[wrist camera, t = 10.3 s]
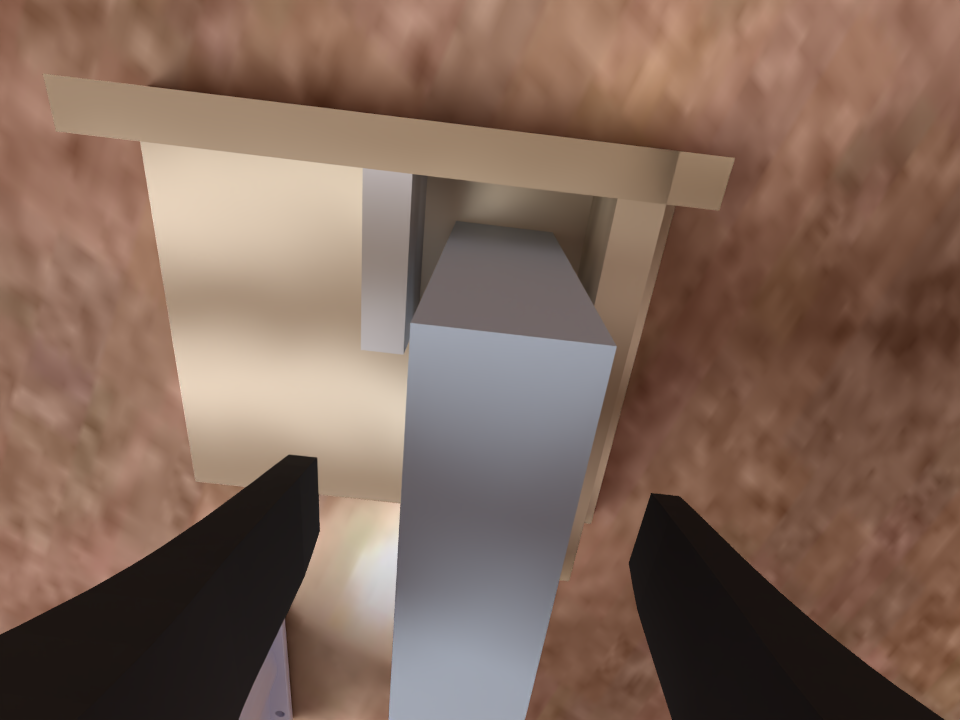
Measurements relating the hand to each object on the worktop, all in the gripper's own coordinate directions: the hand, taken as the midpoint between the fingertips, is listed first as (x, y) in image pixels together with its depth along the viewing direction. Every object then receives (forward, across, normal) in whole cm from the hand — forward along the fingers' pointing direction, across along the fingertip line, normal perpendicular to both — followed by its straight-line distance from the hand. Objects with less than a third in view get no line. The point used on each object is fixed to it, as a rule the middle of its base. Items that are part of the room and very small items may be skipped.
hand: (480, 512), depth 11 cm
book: (+7, 0, +1) cm, 7 cm away
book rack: (+8, +3, -1) cm, 8 cm away
